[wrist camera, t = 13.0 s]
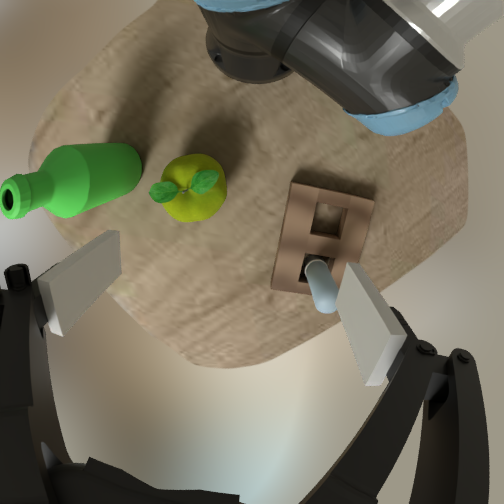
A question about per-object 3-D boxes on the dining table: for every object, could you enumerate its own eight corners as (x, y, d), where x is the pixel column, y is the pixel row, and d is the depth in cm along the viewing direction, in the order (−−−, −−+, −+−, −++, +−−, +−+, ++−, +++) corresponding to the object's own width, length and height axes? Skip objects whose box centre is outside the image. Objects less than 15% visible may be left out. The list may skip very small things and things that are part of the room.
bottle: (113, 203, 43) (7, 257, 20) (92, 161, 40) (-21, 186, 17) (153, 178, 41) (47, 217, 18) (130, 132, 39) (15, 133, 15)
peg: (305, 252, 45) (319, 287, 34) (327, 255, 45) (346, 290, 34) (300, 272, 46) (311, 312, 35) (321, 276, 46) (337, 315, 35)
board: (290, 181, 41) (292, 183, 39) (369, 198, 41) (374, 201, 39) (270, 282, 47) (270, 289, 45) (342, 292, 47) (346, 299, 45)
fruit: (167, 160, 40) (140, 164, 31) (225, 149, 40) (214, 148, 30) (177, 216, 43) (155, 234, 34) (234, 207, 43) (226, 225, 33)
